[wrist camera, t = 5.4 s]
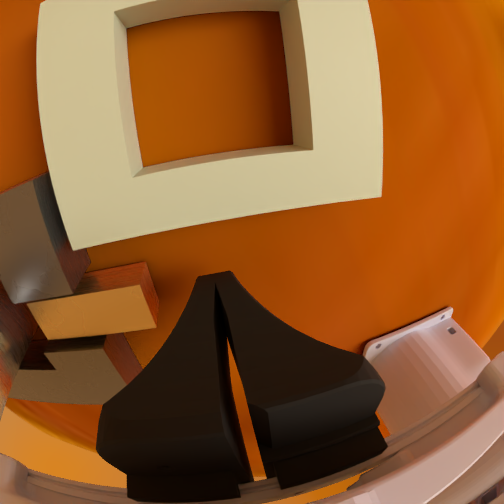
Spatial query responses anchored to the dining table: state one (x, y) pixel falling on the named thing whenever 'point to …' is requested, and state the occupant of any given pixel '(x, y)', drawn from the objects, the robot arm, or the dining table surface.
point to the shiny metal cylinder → (13, 340)
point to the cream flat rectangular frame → (214, 165)
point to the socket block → (53, 285)
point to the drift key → (101, 305)
